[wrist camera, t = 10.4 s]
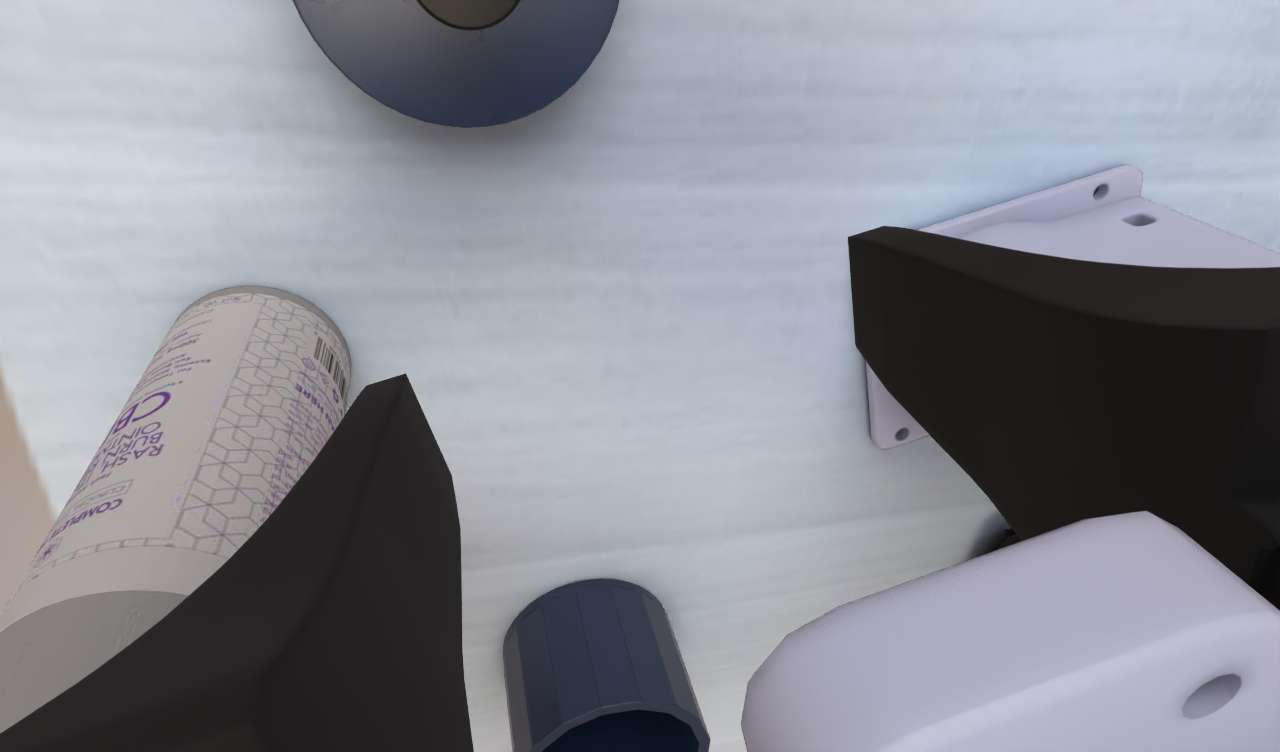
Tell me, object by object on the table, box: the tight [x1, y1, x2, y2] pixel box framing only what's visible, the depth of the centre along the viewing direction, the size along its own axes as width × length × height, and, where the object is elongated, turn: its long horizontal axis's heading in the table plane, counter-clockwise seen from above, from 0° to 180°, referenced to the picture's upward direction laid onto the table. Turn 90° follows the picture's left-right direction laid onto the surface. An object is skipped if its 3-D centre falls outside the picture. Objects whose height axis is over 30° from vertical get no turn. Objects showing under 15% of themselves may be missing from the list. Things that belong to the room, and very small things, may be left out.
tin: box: [503, 579, 710, 752], centre depth 28 cm, size 6×6×5 cm
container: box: [0, 286, 351, 733], centre depth 16 cm, size 5×5×15 cm
